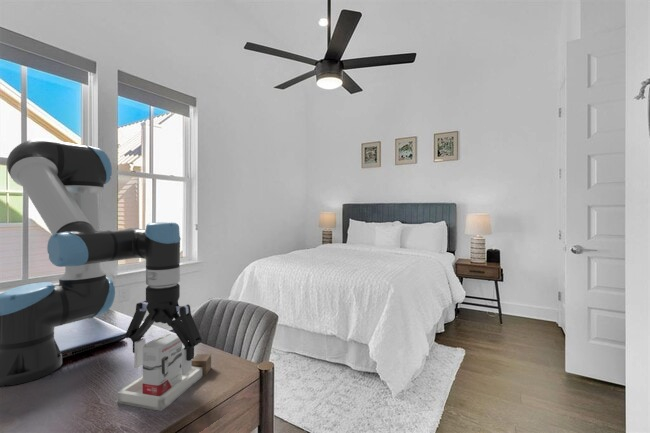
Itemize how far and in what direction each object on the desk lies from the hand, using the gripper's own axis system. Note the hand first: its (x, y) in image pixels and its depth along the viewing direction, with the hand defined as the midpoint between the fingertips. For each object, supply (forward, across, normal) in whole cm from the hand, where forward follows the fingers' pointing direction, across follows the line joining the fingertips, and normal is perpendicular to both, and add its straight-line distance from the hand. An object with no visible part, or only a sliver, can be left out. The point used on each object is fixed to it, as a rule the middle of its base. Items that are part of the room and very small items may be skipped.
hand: (162, 369), depth 79 cm
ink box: (+5, 0, 0) cm, 5 cm away
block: (+5, +4, +10) cm, 12 cm away
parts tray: (+5, 0, 0) cm, 5 cm away
